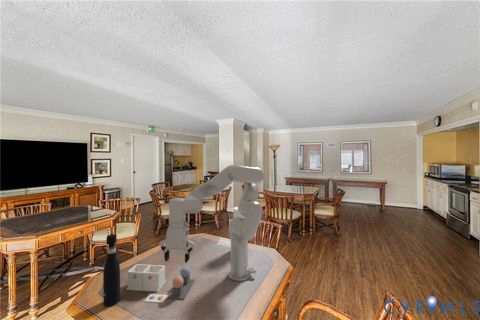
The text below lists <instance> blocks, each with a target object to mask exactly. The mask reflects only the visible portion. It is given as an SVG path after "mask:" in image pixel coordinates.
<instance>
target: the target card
mask: <svg viewBox="0 0 480 320" xmlns="http://www.w3.org/2000/svg"><path fill="white" fill-rule="evenodd" d="M168 295H169V294H160V293H158V294H157V293H149V294H148V295H147V297H146V298H145V299H144V301H143V302H144V303H145V302H147V303H158V304H159V303H161V304H163V303H164V302H165V301H166V299H167V297H168Z"/></svg>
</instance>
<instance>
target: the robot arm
mask: <svg viewBox="0 0 480 320" xmlns="http://www.w3.org/2000/svg"><path fill="white" fill-rule="evenodd" d="M264 179H265V173H264V171H263V170H262V169H261V168H259V167H252V166H244V165H240V164H239V165H237V164H230V165H227V166H226V167H224V168H223V169H221V171H220V172H219V173H217V174H216V175H215V176H213V177H212V178H210V179H209V180H208V181H206V182H204V183H203V184H200V185H199V186H197V187H195V188H194V189H193V190H191V191H190V192H189V193H187V195H185V197H173V198H171V199H169V201H168V204H169V205H168V211H169V212H168V227H167V230H166V235H165V239H164V240H161V241H160V242H159V243H158V244H159V246H160V249H161V250H162V251H163V254H164V258H163V259H164V262H168V261H169V260H170V250H177V251H184V252H185V253H184V263H186V264H187V263H188V262H189V260H190V258H191V256H190V253H191V252H192V251H193V250H194V247H195V245H196V243H195V242H194V241H192V240H190V236H189V235H190V234H189V228H188V226H189V222H188V221H187V220H186V218H187V217H186V214H198V213H200V212H201V211H202V210H203V208H204V203H203V200H204V199H206V198H208V197H210V196H213V195H214V196H215V195H219V194H220V193H222V192H223V191H224V190H225V189H227V187H228V186H230V185H231V184H232V183H234V182H237V183H243V190H242V191H243V192H242V195H241V198H240V201H239V203H238V206H237V207H238V212H239V213H240V214H241V215H243V216H245V218H244V219H243V218H241V217H234V218H233V217H232V218H231V219H230V221H229V224H228V231H229V237H230V238H229V240H230V269H229V270H228V273H227V276H228V278H229V279H230V280H232V281H235V282H243V281H247V280H249V279H250V278H251V276H252V275H253V274H257V269H255V268H254V267H251V266H250V264H249V257H248V256H249V247H248V244H249V243H248V242H249V241H251V240H252V239H254V237H255V236H256V234H257V232H258V228H259V226H260V222H261V219H262V216H263V207H262V205H261V204H260V203H259V202H258V201H257V200H258V196H259V184H261V183H263V180H264ZM189 246H190V247H189ZM251 274H252V275H251Z"/></svg>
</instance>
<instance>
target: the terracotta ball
mask: <svg viewBox="0 0 480 320" xmlns="http://www.w3.org/2000/svg"><path fill="white" fill-rule="evenodd" d="M183 282H184V280H183V278H182V276H181V275H179V276H176V277H174V278H173V279H172V287H173V288H174V287H175V288H180V287H181V286H182V285H183Z"/></svg>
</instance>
